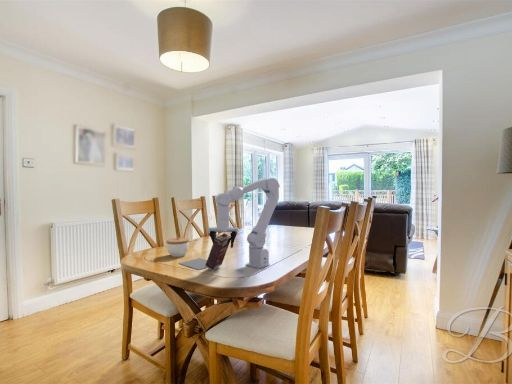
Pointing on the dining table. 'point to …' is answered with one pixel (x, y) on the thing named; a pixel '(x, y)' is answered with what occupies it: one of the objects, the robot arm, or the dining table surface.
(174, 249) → the lidded bowl
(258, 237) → the robot arm
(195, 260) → the felt mat
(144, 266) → the dining table surface
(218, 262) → the supplement box
